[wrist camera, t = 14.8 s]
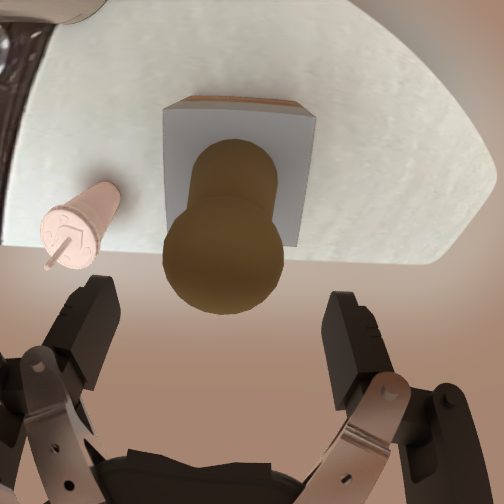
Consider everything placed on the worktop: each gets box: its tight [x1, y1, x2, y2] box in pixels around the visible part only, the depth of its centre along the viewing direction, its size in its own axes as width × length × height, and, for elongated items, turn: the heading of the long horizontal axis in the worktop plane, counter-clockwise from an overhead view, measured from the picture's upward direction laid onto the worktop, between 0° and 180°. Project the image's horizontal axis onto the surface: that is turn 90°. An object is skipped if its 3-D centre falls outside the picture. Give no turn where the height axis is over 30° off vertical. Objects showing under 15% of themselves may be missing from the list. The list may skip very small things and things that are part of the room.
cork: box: [163, 139, 284, 315], centre depth 17 cm, size 6×6×11 cm
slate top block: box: [163, 101, 316, 247], centre depth 23 cm, size 10×10×5 cm
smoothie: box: [40, 182, 121, 271], centre depth 26 cm, size 6×6×14 cm
